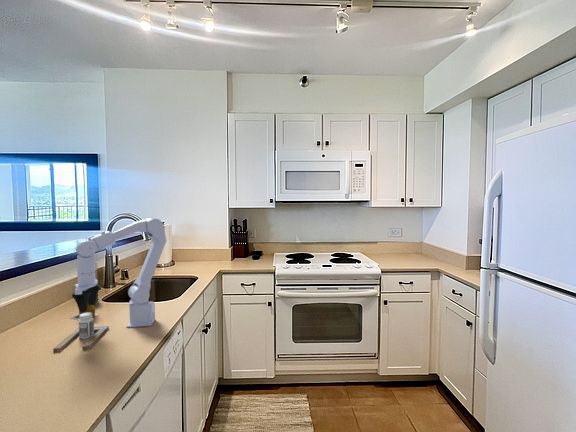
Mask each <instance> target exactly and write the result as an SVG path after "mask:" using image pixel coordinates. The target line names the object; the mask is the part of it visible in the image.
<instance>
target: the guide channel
mask: <svg viewBox="0 0 576 432" xmlns="http://www.w3.org/2000/svg"><path fill="white" fill-rule="evenodd" d="M105 333H107V331H106V329H100V330H99V331H98V332H97V333H94V335H93V336H91V337H90V338H89V340H87V341H86V342H85V344H84V345H82V348H81V349H82V351H87V350H90V349H91V348H92V347H93V346H94V345H95V344H96V343H97V342H98V341H99V340H100V338H102V337H103V336H104V334H105ZM77 337H79V331H75V330H74V331H72V332H71V333H70V334H69V335H68V336H67V337H65V338H64V339H63V340H62V341H60V343H58V344H57V345H56V346H54V347H53V348H52V350H53V352H52V353H60V352H61V351H62V350H63V349H65V347H67V346H69V344H71V342H73V341H74V340H75V339H77Z"/></svg>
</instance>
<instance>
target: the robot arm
mask: <svg viewBox="0 0 576 432" xmlns="http://www.w3.org/2000/svg"><path fill="white" fill-rule="evenodd" d="M165 229H166V226H165V225H164V223H163V222H162V221H161V220H160V219H159V218H153V217H147V218H144V219H140V220H137V221H135V222H133V223H131V224H128V225H126V226H124V227H122V228H120V229H118V230H116V231H113V232H112V231H109V230H107V231H105V230H102V231H101V232H100V234H98V235H95V236H92V237H91V236H89V237H88V238H87V240H84V239H83V240H81V241H79V242H78V243H77V244H76V246H75V253H77V256H76V259H77V262H76V265H77V267H76V269H77V270H76V271H77V283H76V284H74V287H75V289H74V292H73V293H72V294H71V296H72V298H73V300H74V301H75V303H76V306H77V307H78V312H79V311H80V312H86V311H87V306H88V304H89V305H95V306H96V304H95V303H96V299H97V294H98V295H99V292H100V289H101V287H102V285H101V284H99V280H98V279H97V278H96V261H95V254H96V252H100V251H103V250H105V249H107V248H109V247H112V246H115V244H116V242H117V240H120V239H121V238H125V237H127V236H129V235H130V236H131V235H132V234H134V233H136V232H138V233H146V234H147V235H148V236H149V238H150V240H151V244H150V248H149V249H148V252H147V255H146V257H145V259H144V262H143V264H142V267H141V270H140V272H139V274H138V276H137V278H136V279H135V280H134V282H133V284H132V285H131V286H130V287H129V288H128V290H127V294H128V297H129V298H130V299H129V303H128V306H129V322H128V324H127V325H126V328H136V327H138V328H139V327H151V326H152V325H153V324H154V322H155V320H156V305H155V302H154V301H149V298H150V296H151V295H150V290H151V286H152V284H151V281H152V278H153V276H154V274H155V271H156V268H157V267H158V263H159V261H160V258H161V256H162V253H163V250H164V249H165V246H166V243H167V236H166V231H165ZM97 284H98V285H97Z"/></svg>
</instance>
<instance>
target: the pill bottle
mask: <svg viewBox="0 0 576 432" xmlns="http://www.w3.org/2000/svg"><path fill="white" fill-rule="evenodd" d="M94 327H95V325H94V318H93V317H92V313H90V312H88V313H83V314H80V320H78V328H79V335H78V337H79V338H80V339H88V338H89V339H90V338H92V337H93V336H94V335H95V333H94Z"/></svg>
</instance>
